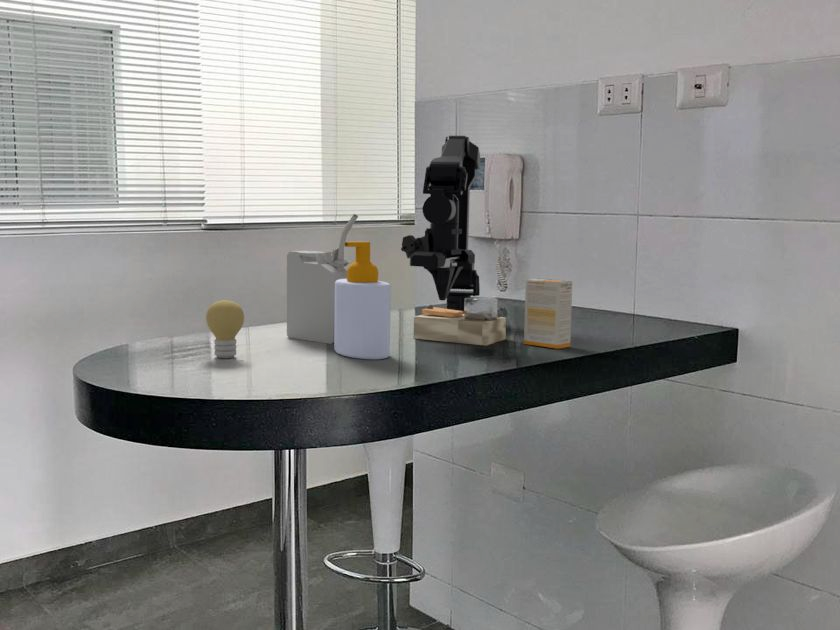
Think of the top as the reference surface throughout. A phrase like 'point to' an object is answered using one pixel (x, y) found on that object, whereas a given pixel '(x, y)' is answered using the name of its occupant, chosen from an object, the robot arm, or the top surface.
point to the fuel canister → (314, 291)
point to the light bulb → (225, 326)
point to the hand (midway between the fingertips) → (442, 300)
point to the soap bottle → (362, 309)
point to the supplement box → (548, 312)
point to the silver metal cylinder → (480, 308)
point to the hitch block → (459, 329)
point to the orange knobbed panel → (441, 311)
